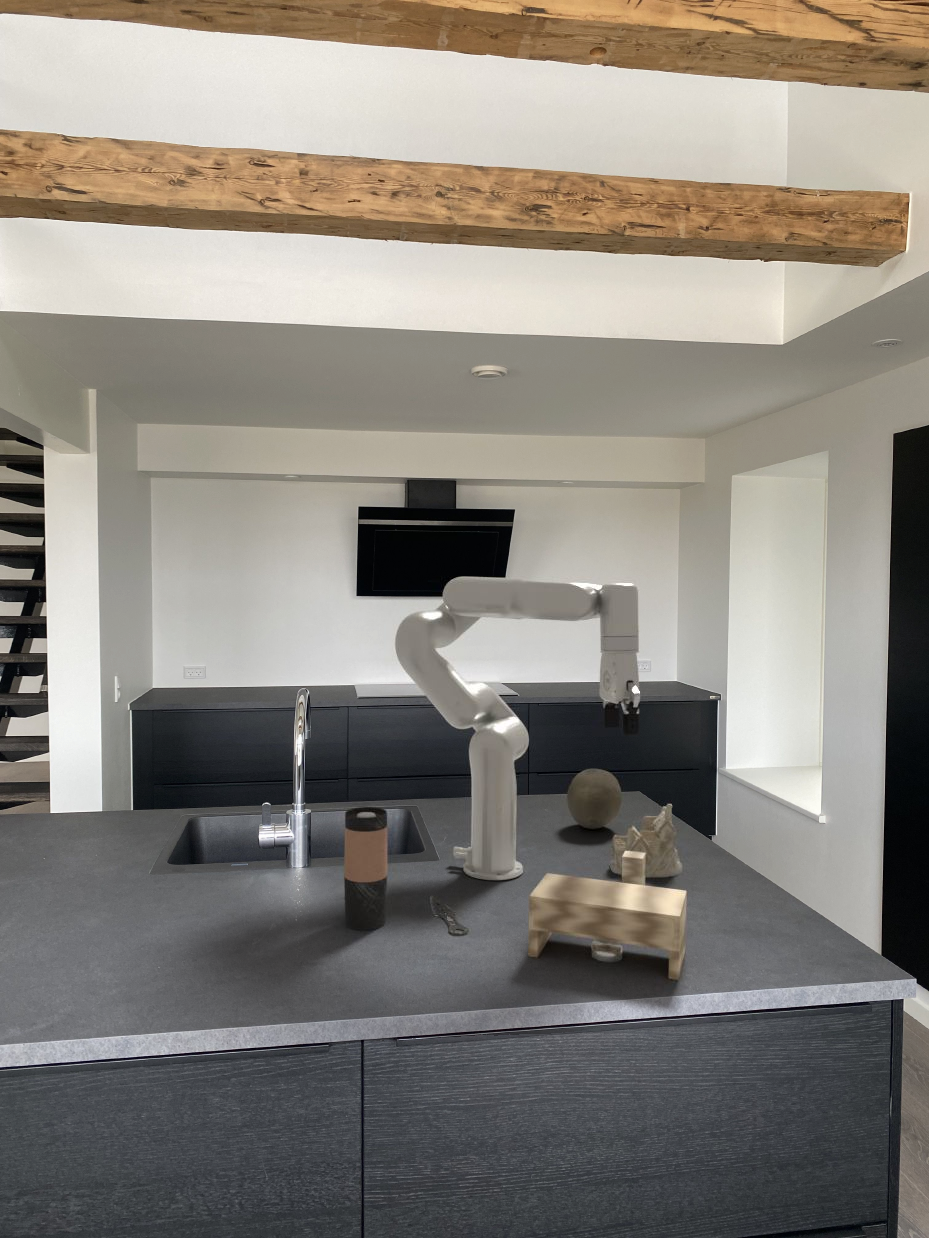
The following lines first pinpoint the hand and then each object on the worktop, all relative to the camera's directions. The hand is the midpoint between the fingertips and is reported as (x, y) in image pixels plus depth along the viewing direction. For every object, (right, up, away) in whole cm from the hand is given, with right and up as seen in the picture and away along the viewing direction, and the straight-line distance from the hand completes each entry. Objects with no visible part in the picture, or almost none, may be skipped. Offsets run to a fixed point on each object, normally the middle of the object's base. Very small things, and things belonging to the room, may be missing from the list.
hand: (620, 730), depth 171 cm
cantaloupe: (+1, -31, +44) cm, 54 cm away
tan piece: (-1, -33, -11) cm, 34 cm away
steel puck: (-8, -33, -30) cm, 46 cm away
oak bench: (-8, -33, -29) cm, 45 cm away
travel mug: (-49, -32, -18) cm, 61 cm away
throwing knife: (-35, -33, -13) cm, 50 cm away
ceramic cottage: (+8, -32, +16) cm, 37 cm away
